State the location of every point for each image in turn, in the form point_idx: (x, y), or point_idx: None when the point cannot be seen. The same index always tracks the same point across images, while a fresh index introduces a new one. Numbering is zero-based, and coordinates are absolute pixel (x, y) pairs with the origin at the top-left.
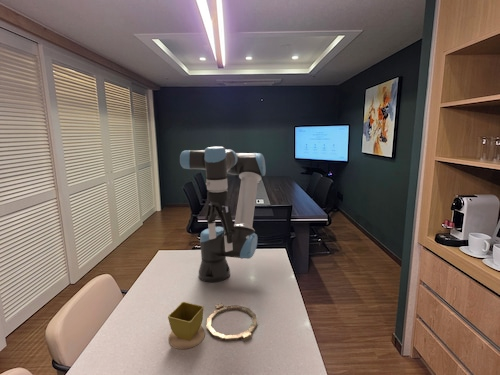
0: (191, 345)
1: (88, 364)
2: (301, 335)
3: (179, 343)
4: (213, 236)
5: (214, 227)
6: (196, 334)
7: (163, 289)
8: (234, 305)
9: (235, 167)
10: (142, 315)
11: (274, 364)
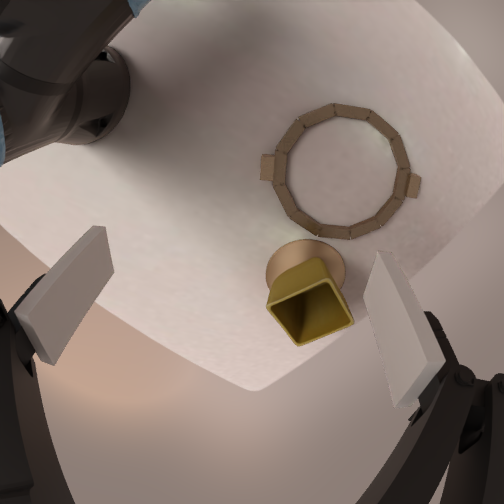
0: (341, 283)
1: (256, 384)
2: (478, 90)
3: None
4: (100, 257)
5: (56, 291)
6: None
7: None
8: (291, 127)
9: None
10: (177, 310)
11: (481, 192)
